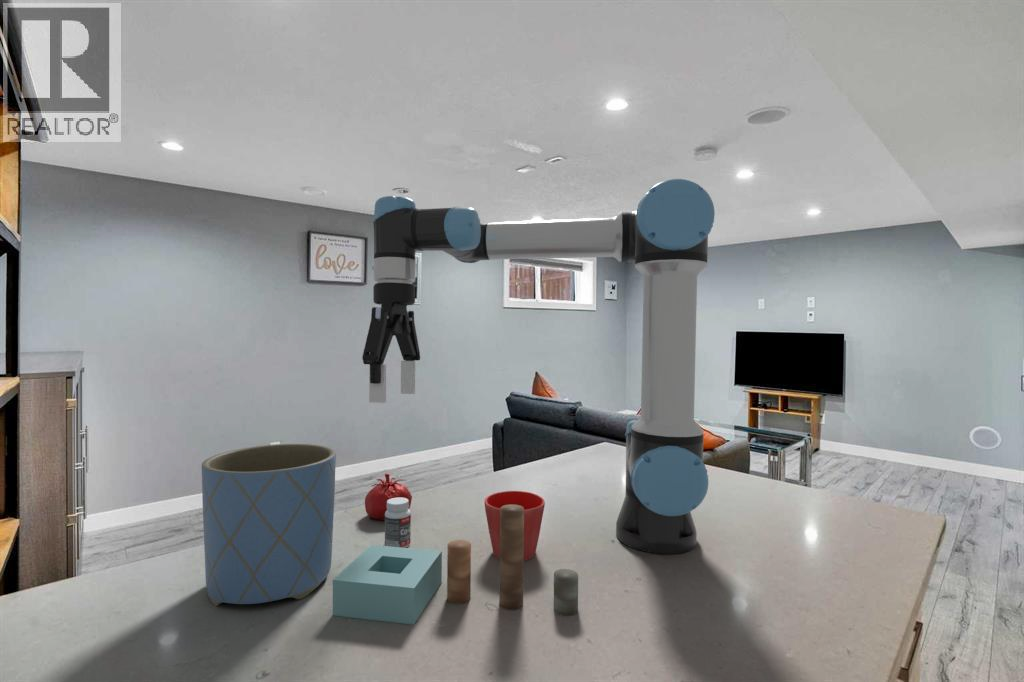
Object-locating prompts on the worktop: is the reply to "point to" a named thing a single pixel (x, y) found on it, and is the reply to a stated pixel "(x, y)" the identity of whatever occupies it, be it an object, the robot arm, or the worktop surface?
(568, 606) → the pin short
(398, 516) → the pill bottle
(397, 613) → the collar
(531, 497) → the flower pot
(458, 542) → the pin medium
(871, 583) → the worktop surface
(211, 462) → the planter
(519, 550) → the pin long
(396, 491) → the pomegranate
